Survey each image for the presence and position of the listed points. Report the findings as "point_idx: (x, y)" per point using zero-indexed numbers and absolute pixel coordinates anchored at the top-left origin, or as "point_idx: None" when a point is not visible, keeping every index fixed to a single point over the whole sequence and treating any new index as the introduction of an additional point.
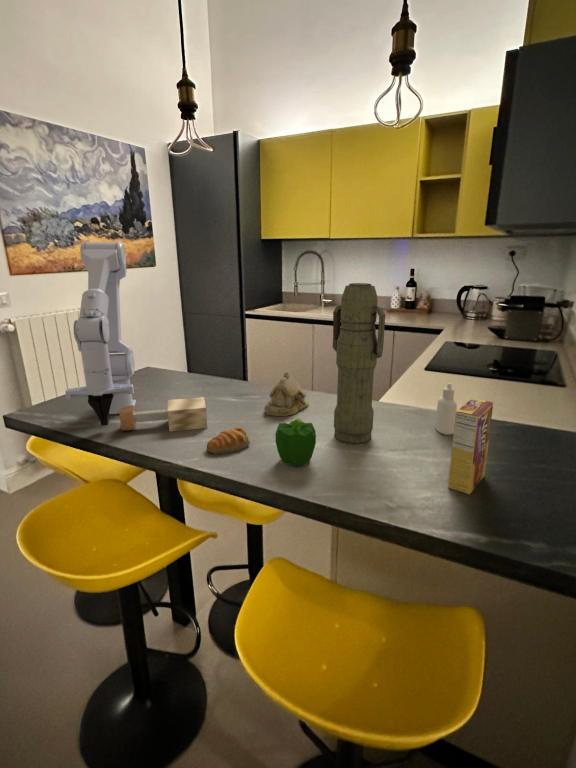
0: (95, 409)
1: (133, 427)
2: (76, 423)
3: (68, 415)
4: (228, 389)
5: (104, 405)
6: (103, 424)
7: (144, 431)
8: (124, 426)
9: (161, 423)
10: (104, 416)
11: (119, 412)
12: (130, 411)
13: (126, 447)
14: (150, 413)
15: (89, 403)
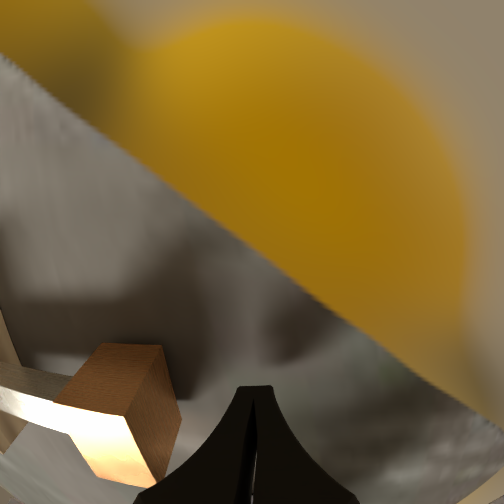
0: (297, 461)
1: (101, 347)
2: (392, 446)
3: (410, 483)
4: (23, 491)
5: (209, 483)
6: (258, 389)
7: (74, 330)
8: (137, 355)
9: None
10: (239, 421)
11: (125, 422)
12: (65, 410)
13: (100, 150)
14: (18, 390)
15: (348, 499)
